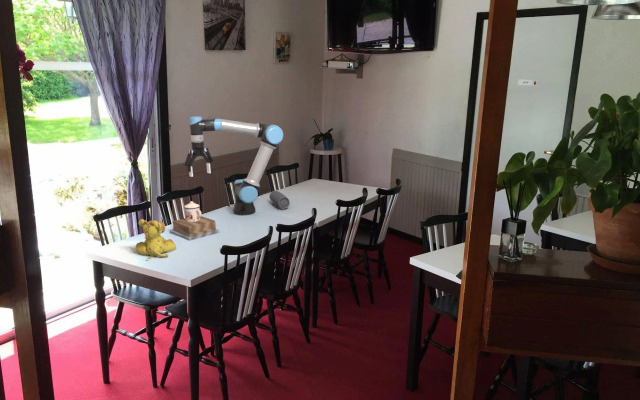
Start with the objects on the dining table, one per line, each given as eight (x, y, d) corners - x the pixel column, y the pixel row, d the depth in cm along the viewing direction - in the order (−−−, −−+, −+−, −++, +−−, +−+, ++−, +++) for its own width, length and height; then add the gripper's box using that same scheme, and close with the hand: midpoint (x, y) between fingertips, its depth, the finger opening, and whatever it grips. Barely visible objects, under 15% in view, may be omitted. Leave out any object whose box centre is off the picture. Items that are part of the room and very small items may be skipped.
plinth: (199, 225, 328) (199, 214, 326) (219, 232, 314) (218, 220, 312) (170, 233, 313) (169, 221, 312) (189, 240, 299) (188, 228, 297)
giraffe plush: (178, 245, 291) (176, 212, 286) (169, 260, 268) (166, 224, 264) (141, 246, 290) (138, 213, 285) (129, 261, 267) (125, 225, 262)
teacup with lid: (181, 220, 312) (180, 202, 309) (193, 217, 319) (192, 199, 316) (195, 224, 305) (194, 204, 302) (207, 220, 312) (206, 201, 310)
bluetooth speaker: (290, 209, 365) (290, 195, 363) (278, 211, 362) (277, 197, 360) (281, 202, 386) (280, 189, 384) (268, 203, 383) (268, 190, 380)
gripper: (184, 144, 314) (187, 178, 319) (217, 139, 332) (219, 172, 337) (176, 143, 319) (180, 177, 324) (210, 138, 337) (212, 171, 342)
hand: (200, 174), depth 331 cm, fingers open, 13 cm apart
